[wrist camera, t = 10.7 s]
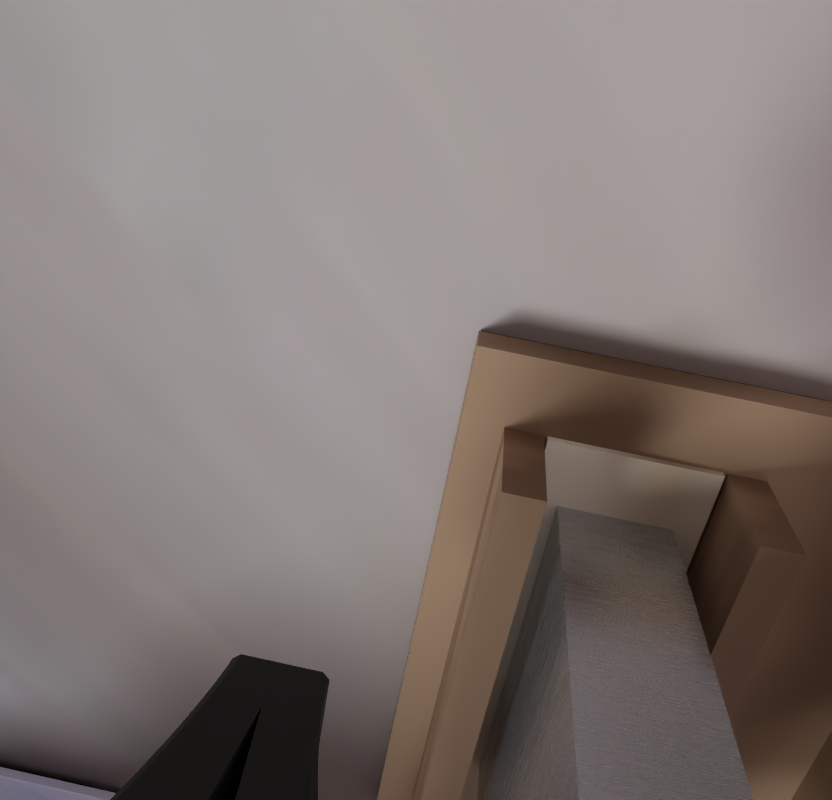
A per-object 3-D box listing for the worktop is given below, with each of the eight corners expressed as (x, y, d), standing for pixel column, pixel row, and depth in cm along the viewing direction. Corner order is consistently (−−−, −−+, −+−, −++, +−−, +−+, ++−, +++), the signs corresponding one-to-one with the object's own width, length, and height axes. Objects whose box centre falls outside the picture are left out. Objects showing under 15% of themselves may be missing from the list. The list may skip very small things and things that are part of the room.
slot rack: (376, 799, 28) (355, 914, 24) (478, 331, 20) (469, 400, 16) (944, 926, 27) (1009, 1065, 23) (1293, 495, 19) (1474, 605, 15)
